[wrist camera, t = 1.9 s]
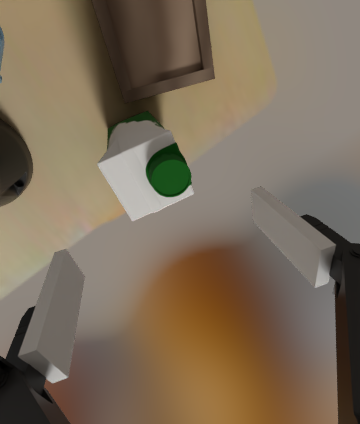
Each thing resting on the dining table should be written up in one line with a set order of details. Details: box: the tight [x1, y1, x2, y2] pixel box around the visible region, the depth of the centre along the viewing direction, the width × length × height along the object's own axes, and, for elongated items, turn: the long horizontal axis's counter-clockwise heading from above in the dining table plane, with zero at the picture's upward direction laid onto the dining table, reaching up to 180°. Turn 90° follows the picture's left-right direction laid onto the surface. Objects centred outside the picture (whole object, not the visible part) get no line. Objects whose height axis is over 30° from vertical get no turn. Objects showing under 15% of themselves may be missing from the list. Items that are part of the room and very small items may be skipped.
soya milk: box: [97, 111, 194, 221], centre depth 31 cm, size 9×9×20 cm
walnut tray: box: [92, 0, 215, 103], centre depth 31 cm, size 14×14×2 cm
